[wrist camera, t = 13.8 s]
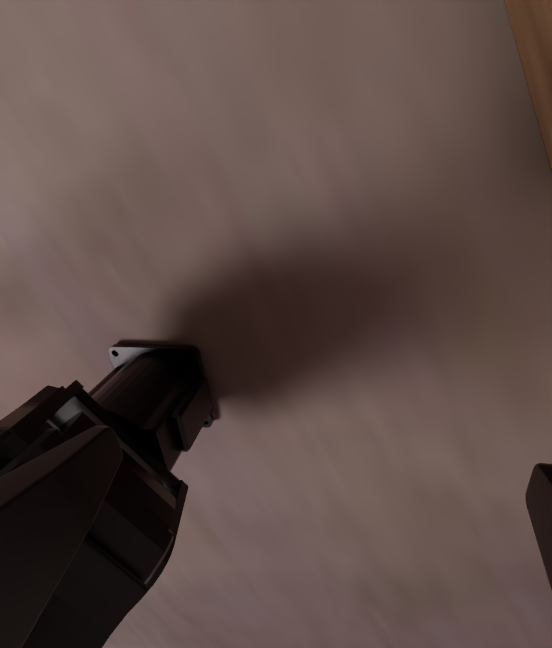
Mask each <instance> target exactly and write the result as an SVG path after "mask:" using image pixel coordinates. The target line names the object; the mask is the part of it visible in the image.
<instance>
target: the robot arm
mask: <svg viewBox="0 0 552 648" xmlns="http://www.w3.org/2000/svg"><path fill="white" fill-rule="evenodd" d="M115 350H116V351H117V352H118V353H117V352H116V351H115ZM108 352H109V355H110V358H111V361H112V364H113V367H114V370H113V371H112V372H111V373H110V374H109V375H107V376H106V377H105V378H104V379H103V380H102V381H101V382H100V383H99V384H98V385H97V386H96V387H94V388H93V389H92V390H91V391H90V392H89V393H87V392H86V391H85V390H84V389H83V386H82V385H81V384H80V383H79V382H78V381H77V380H75V381H74V382H73V383H72V384H71V385H69V386H68V387H67V388H66V389H65V388H64V387H63V386H62V387H60V388H57V387H53V386H46V387H45V388H44V389H42V390H41V391H40V392H38V393H37V394H36V395H35V396H33V397H32V398H31V399H29V400H28V401H27V402H25V403H24V404H23V405H21V406H20V407H19V408H17V409H16V410H15V411H13V412H12V413H10V414H9V415H7V416H6V417H5V418H3V419H2V420H0V648H102V647H103V645H104V644H105V642H106V641H107V639H108V638H109V636H110V635H111V634H112V632H113V631H114V630H115V628H116V627H117V626H118V625H119V623H120V622H121V621H122V620H123V618H124V617H125V616H126V614H127V613H128V612H129V611H130V610H131V609H132V608H133V607H134V606H135V605H136V604H137V603H138V602H139V601H140V600H141V599H142V597H143V596H144V595H145V594H146V593H147V592H148V590H149V589H150V588H151V587H152V586H153V584H154V583H155V582H156V580H157V579H158V577H159V576H160V575H161V573H162V571H163V569H164V568H165V566H166V564H167V562H168V560H169V558H170V556H171V553H172V550H173V547H174V544H175V540H176V535H177V531H178V527H179V523H180V519H181V515H182V511H183V507H184V502H185V498H186V494H187V490H188V485H187V484H185V483H184V482H183V481H182V480H179V479H178V478H177V477H176V476H175V475H173V474H172V473H171V472H170V471H171V469H172V468H173V466H174V464H175V462H176V461H177V459H178V457H179V455H180V454H181V452H182V451H183V452H187V451H188V450H189V449H190V448H191V446H192V444H193V443H194V441H195V439H196V437H197V435H198V434H199V432H200V430H201V428H202V427H210V426H211V425H212V423H213V421H214V418H213V414H212V408H213V405H212V400H211V395H210V390H209V386H208V381H207V378H206V377H205V376H204V372H203V367H202V363H201V358H200V353H199V351H198V349H197V348H196V347H194V346H178V345H134V344H114V345H113V346H112V347H111V348H109V351H108ZM189 352H190V353H192V354H193V356H192V355H190V354H189ZM206 420H207V421H206ZM526 505H527V509H528V512H529V516H530V519H531V522H532V526H533V529H534V533H535V536H536V539H537V543H538V546H539V549H540V553H541V556H542V560H543V563H544V566H545V570H546V573H547V577H548V580H549V583H550V586H551V589H552V464H546V463H538V464H536V465H535V466H534V468H533V471H532V474H531V478H530V481H529V484H528V487H527V491H526Z"/></svg>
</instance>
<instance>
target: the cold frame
mask: <svg viewBox="0 0 552 648" xmlns="http://www.w3.org/2000/svg"><path fill="white" fill-rule="evenodd" d="M504 2H505V5H506V9H507V12H508V16H509V20H510V23H511V27H512V30H513V34H514V37H515V41H516V45H517V48H518V52H519V55H520V59H521V62H522V66H523V70H524V73H525V77H526V80H527V84H528V87H529V91H530V95H531V98H532V102H533V105H534V109H535V112H536V116H537V120H538V123H539V127H540V130H541V134H542V137H543V141H544V145H545V148H546V152H547V155H548V159H549V162H550V166H551V170H552V0H504Z"/></svg>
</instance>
